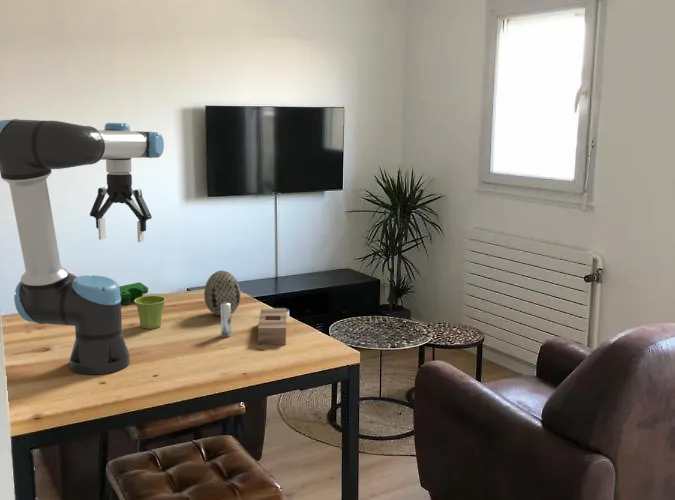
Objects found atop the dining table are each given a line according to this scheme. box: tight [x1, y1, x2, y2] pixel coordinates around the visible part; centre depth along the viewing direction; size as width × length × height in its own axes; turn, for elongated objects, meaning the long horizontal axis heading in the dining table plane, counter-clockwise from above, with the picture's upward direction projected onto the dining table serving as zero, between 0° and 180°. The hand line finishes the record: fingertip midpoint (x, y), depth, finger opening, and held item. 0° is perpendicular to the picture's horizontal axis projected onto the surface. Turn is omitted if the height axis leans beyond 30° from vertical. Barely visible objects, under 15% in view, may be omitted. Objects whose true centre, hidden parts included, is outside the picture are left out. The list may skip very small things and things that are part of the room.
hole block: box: [257, 307, 287, 346], centre depth 221 cm, size 20×8×5 cm, turn 3°
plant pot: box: [133, 295, 167, 330], centre depth 225 cm, size 9×9×9 cm
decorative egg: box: [203, 270, 241, 317], centre depth 237 cm, size 12×12×15 cm
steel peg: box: [220, 302, 232, 338], centre depth 217 cm, size 3×3×10 cm
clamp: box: [119, 281, 149, 306], centre depth 251 cm, size 12×6×9 cm, turn 133°
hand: (121, 240), depth 230 cm, fingers open, 13 cm apart
